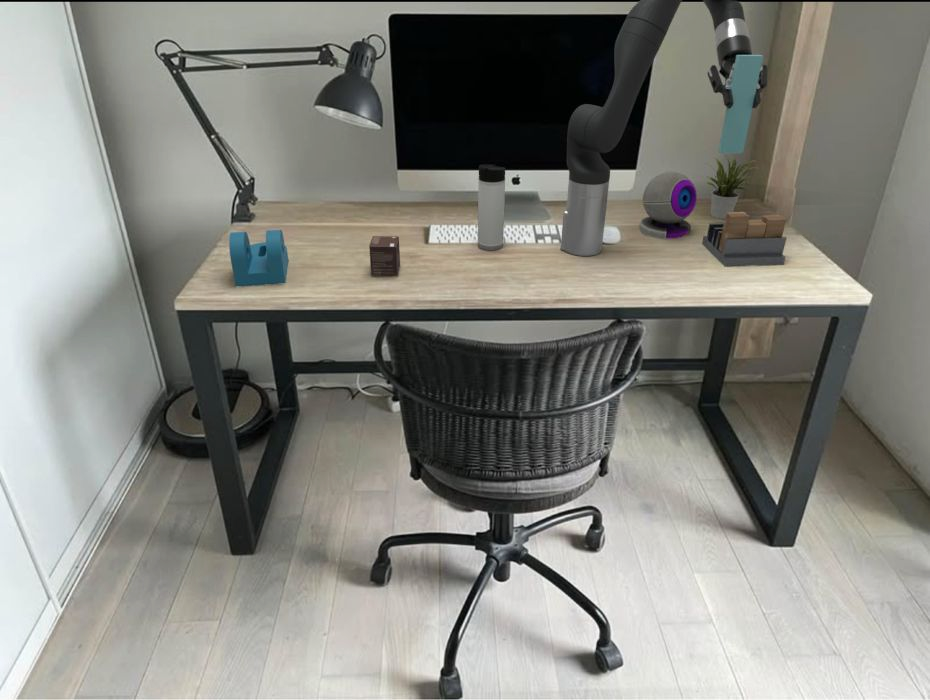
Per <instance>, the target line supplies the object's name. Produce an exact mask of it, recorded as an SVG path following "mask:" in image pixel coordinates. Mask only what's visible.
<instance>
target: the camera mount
mask: <svg viewBox="0 0 930 700" xmlns="http://www.w3.org/2000/svg"><path fill="white" fill-rule="evenodd" d="M228 244H229V245H228V246H229V247H228V248H229V258H230V263H231V267H232V268H231V269H232V274H233V278H234V285H235V287H236V286H241V287H253V286H252V285H256V286H266V285H265V284H271V285H279V284H278V283H285V284H286V283H287V275H288V269H287V268H288V267H289V252H288V248H287V246H286V245H285V239H284V233H283V230H282V229H270V230H266V231H265V241H264V242H262V241H261V242H257V243H253V244H251V243H250V238H249V236H248V233H247V231H234V232H230V233H229V237H228Z"/></svg>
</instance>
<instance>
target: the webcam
mask: <svg viewBox="0 0 930 700" xmlns="http://www.w3.org/2000/svg"><path fill="white" fill-rule="evenodd" d="M642 195H643V196H642V205H643V208H644V210H645V213H646V215H648V216H646V217H643V218H642V219H641V220H640V221H639V226H638V230H639V231H640V232H641V234H644V235H646V236H649V237H652V238H656V239H663V240H666V239H676V238H678V237H679V238H682V237H685V236H686V235H687V234H688V233H691V231H692V225H691V224H690V223H689V222H688V221H687V220H685V219H686V218H688V217H689V216H690V214H692V212H693V211H694V210H695V207H696V204H697V200H698V199H697V197H698V196H697V190H696V187H695V185H694V183H693V182H692V180H691V179H690V178H689V177H688V176H686V175H685V174H684V173H680V172H676V171H667V172H663V173H660V174H657V175H656V176H655V177H653V178H652V179H651V180H650V181H649V182H648V183H647V185H645V188H644V192H643V194H642ZM684 235H685V236H684Z"/></svg>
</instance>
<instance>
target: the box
mask: <svg viewBox="0 0 930 700" xmlns="http://www.w3.org/2000/svg"><path fill="white" fill-rule="evenodd" d="M368 246H369V259H370V260H369V262H370V275H371V277H398V276H399V272H400V268H401V257H400V256H401V255H400V253H401V252H400V250H401V249H400V237H399V236H396V235H395V236H394V235H393V236H392V235H391V236H390V235H389V236H384V235H383V236H381V235H379V236H377V235H376V236H375V235H374V236H372V238H371V240H370V243H369V245H368Z"/></svg>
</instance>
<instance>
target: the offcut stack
mask: <svg viewBox="0 0 930 700" xmlns="http://www.w3.org/2000/svg"><path fill="white" fill-rule="evenodd" d="M761 216H762V217H761V219H750V215H749V214H747V213H746V212H745V211H733V212H726V216H725V219H724V222H723V223H724V226H723V231H722V236H721V240H720V245H719V250H720V251H721V252H722V253H723V248H724V243H725V239H726V238H754V237H783V234H784V231H785V226H786V223H787V219H786V218H785V217H784V216H782V215H780V214H776V215H775V214H773V215H771V214H770V215H761Z"/></svg>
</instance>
